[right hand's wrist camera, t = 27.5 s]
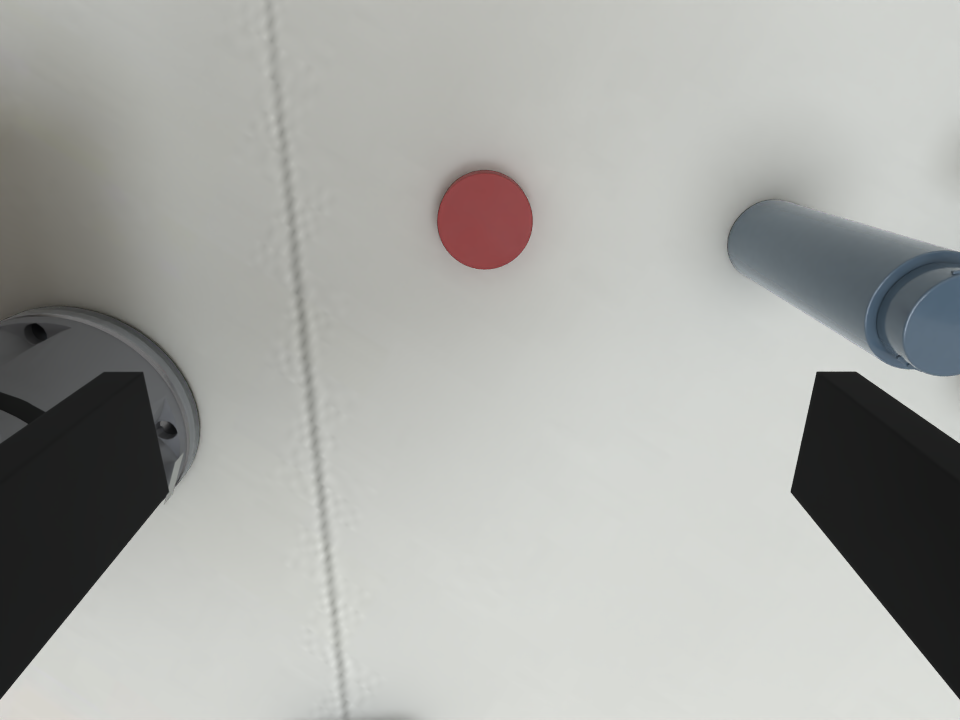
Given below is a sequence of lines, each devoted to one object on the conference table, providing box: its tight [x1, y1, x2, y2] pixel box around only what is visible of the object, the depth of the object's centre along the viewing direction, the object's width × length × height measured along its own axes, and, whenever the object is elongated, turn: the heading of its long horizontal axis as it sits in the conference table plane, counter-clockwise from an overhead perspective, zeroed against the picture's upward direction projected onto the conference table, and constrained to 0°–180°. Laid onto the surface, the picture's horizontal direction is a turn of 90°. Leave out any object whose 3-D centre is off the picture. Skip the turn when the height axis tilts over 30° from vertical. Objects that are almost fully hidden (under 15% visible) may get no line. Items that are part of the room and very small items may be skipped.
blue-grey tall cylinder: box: [728, 199, 960, 376], centre depth 31 cm, size 5×5×16 cm
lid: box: [437, 170, 533, 269], centre depth 37 cm, size 6×6×2 cm
